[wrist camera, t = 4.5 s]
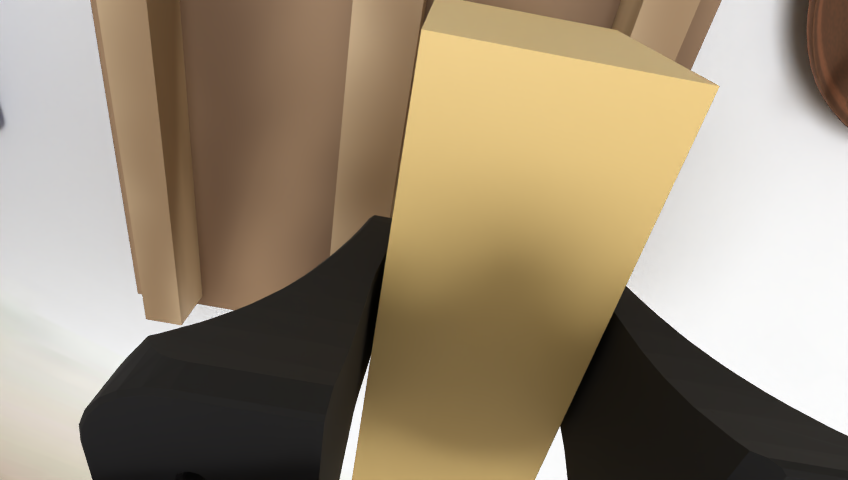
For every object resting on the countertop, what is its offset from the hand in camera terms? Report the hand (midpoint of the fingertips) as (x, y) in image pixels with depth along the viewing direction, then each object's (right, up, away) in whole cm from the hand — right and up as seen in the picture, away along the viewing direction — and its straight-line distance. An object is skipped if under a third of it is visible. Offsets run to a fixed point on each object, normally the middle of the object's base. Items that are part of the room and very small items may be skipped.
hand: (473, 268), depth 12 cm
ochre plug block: (0, +1, +1) cm, 2 cm away
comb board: (-3, +4, +8) cm, 9 cm away
